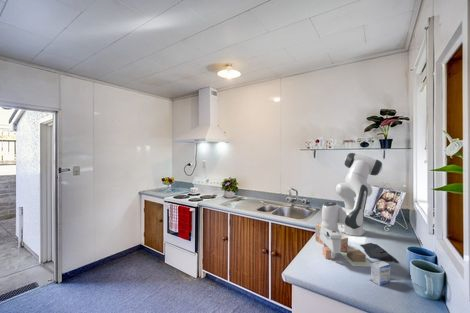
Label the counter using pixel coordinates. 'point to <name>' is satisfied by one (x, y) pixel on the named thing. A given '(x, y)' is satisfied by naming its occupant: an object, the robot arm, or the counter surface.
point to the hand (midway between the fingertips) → (329, 253)
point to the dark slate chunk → (377, 252)
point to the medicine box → (380, 272)
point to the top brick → (327, 253)
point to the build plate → (355, 262)
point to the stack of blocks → (343, 240)
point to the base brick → (356, 255)
